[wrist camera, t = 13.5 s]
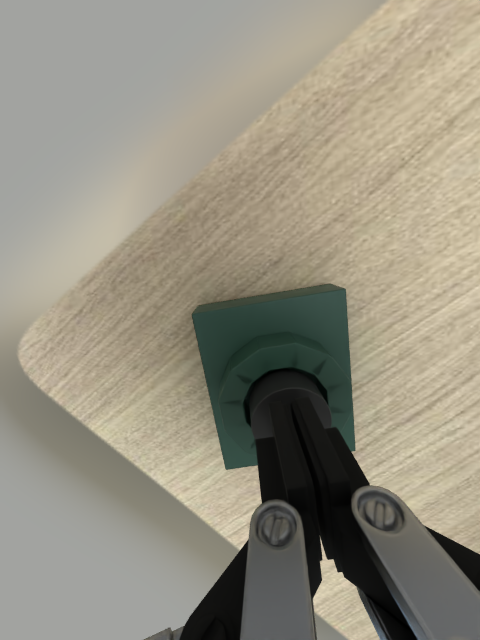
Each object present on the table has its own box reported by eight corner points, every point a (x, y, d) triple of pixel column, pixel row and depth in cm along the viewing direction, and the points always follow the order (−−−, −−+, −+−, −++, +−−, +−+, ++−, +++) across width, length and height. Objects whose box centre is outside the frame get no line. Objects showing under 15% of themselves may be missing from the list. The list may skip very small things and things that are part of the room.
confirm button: (244, 375, 13) (245, 394, 11) (316, 364, 13) (329, 381, 11) (254, 437, 14) (257, 463, 12) (322, 426, 14) (334, 451, 12)
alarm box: (197, 305, 15) (184, 323, 12) (331, 283, 15) (362, 294, 11) (226, 444, 18) (224, 497, 14) (341, 427, 18) (371, 476, 14)
